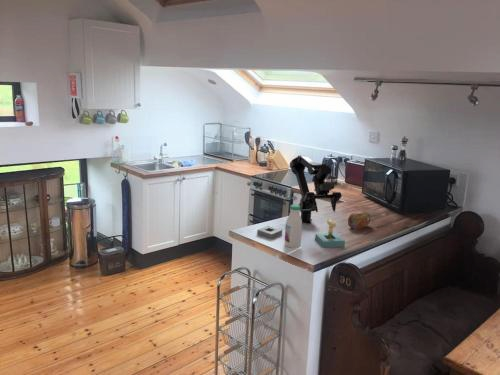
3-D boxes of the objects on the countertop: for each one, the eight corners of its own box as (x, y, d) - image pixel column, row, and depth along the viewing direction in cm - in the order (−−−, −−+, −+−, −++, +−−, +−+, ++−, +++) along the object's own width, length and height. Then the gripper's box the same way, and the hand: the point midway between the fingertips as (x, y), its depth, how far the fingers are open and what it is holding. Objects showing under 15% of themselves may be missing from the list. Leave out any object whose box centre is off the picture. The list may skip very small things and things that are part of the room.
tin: (350, 230, 232) (351, 215, 230) (346, 228, 235) (347, 213, 233) (369, 226, 240) (371, 211, 238) (365, 224, 243) (367, 210, 241)
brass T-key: (325, 239, 215) (327, 219, 212) (329, 239, 215) (331, 219, 213) (330, 244, 209) (331, 223, 206) (333, 244, 209) (335, 223, 207)
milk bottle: (301, 243, 209) (304, 204, 204) (299, 249, 202) (302, 208, 197) (285, 241, 211) (288, 202, 206) (283, 247, 203) (285, 206, 198)
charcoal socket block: (267, 231, 225) (267, 225, 224) (281, 235, 219) (282, 229, 218) (257, 235, 218) (257, 229, 217) (271, 240, 212) (271, 234, 212)
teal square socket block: (315, 239, 216) (315, 233, 215) (335, 238, 218) (336, 232, 218) (323, 247, 206) (323, 241, 205) (344, 246, 208) (345, 240, 207)
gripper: (307, 176, 215) (313, 204, 208) (342, 176, 219) (349, 203, 212) (301, 188, 225) (306, 214, 217) (334, 187, 229) (341, 214, 221)
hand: (325, 211), depth 216 cm, fingers open, 9 cm apart
